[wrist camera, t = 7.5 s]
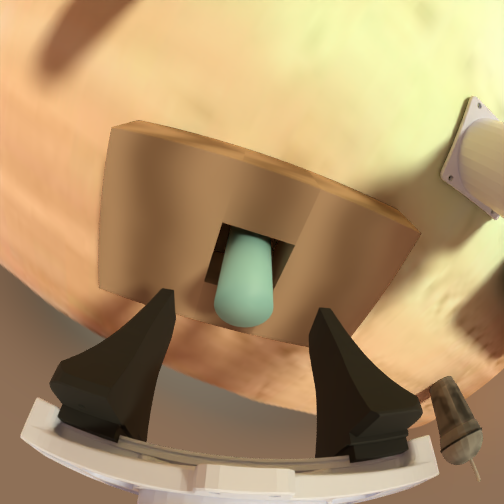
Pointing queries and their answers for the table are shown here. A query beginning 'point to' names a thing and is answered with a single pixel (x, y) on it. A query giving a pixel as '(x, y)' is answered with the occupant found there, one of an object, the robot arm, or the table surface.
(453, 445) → the beverage cup
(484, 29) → the table surface
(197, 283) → the hole block
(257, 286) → the peg
